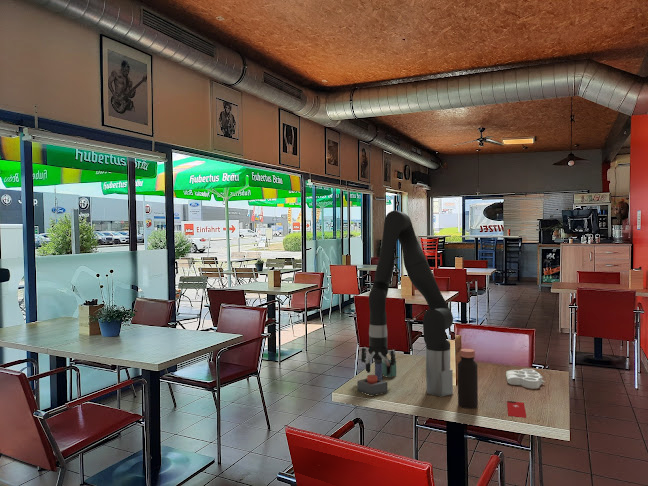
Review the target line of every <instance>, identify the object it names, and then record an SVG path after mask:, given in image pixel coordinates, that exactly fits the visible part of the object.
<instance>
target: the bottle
mask: <svg viewBox="0 0 648 486" xmlns="http://www.w3.org/2000/svg"><path fill="white" fill-rule="evenodd" d="M459 351H460V352H459V353H460V359H461V360H460V361H459V362H457V404H458V406H459V407H461V408H464V409H467V410H469V409H472V410H473V409H476V408H477V407H478V405H479V402H478V400H479V397H478V395H479V392H478V388H479V387H478V386H479V385H478V383H479V382H478V381H479V379H478V363H477V362H476V361H475V360H474V359H475V355H476V354H475V353H476V352H475V349H472V348H461V349H460V350H459Z"/></svg>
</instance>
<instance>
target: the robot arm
mask: <svg viewBox="0 0 648 486" xmlns="http://www.w3.org/2000/svg"><path fill="white" fill-rule="evenodd" d="M382 229H383V231H382V238H381V239H382V241H381V247H380V252H379V256H378V262H377V265H376V269H375V273H374V281H373V283H372V285H371V286H372V287H371V290H370V292H369V294H368V307H369V326H368V327H369V328H368V335H369V336H368V342H369V344H368V346H369V347H366V346H363V347H362V348H361V360H360V361H361V362H362V363H365V371H366V372H367V374H370V373H371V363H370V362H371V361H372V360H373V359H374V360H375V359H379V360H383V361H384V362H385V363H386V364H387V375H389V374H390V373H391V365H394V364H395V363H396V364H397V359H396V350H395V349H388V326H387V323H388V322H387V312H386V306H387V305H386V304H387V303H386V301H387V297H388V292H389V287H390V282H391V280H392V277H393V273H394V269H395V265H396V247H397V242H399V244H400V246H401V250H402V259H403V266H404V268H405V271H406V273H407V276H408V278H409V280H410V282H411V283H412V285H413V286H414V288H415V289H417V291H418V292H419V293H420V294H421V295H422V297H423V298H424V300H425V302H426V304H427V306H428V310H425V312H424V314H423V317H422V330H423V332H422V333H423V341H424V343H425V366H426V367H425V370H426V371H425V372H426V375H425V376H426V377H425V378H426V379H425V382H426V383H425V384H426V389H425V390H426V393H427V394H428V395H432V396H437V397H442V398H443V397H447V396H450V395H453V393H454V391H453V390H454V386H453V383H454V382H453V381H454V380H453V377H454V376H453V374H454V373H453V369H452V368H451V342H450V341H449V340H448V339H447V338H446V336H447V335H446V330H448V329H449V328H450V327H452V326H453V323H454V316H453V313H452V311H451V309H450V307H449V305H448V303H447V301H446V300H445V298H444V296H443V294H442V292H441V291H440V288H439V285H438V283H437V281H436V278H435V277H434V274H433V272H432V269H431V266H430V264H429V261H428V260H427V258H426V255H425V253H424V251H423V249H422V246H421V245H420V243H419V241H418V239H417V236H416V233H415V229H414V227H413V222H412V220H411V218H410V216H409V215H408V214H407V213H406V212H402V211H400V210H391V211H389V212H388V213H387V214H386V216H385V218H384V222H383V228H382ZM367 353H369V354H370V355H369V357H367ZM388 355H389V356H390V358H389V356H388ZM390 360H391V362H390Z"/></svg>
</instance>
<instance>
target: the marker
mask: <svg viewBox="0 0 648 486" xmlns="http://www.w3.org/2000/svg"><path fill="white" fill-rule="evenodd" d="M382 360H383V359H382ZM382 360H379V359H374V375H376V376H377V378H378V379H381V380H383V376H382Z"/></svg>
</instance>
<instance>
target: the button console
mask: <svg viewBox="0 0 648 486" xmlns="http://www.w3.org/2000/svg"><path fill="white" fill-rule="evenodd" d="M388 385H389V384H388V381H385V380H383V379H382V380H381V379H378V378H377V383H374V384H370V383H367V378H364V379H358V380H357V385H356V386H357V387H356V388H357V391H358V392H359V391H361V392H360V393H362V392H363V393H362V394H364V393H366V394H369V395H375V396H377V395H376V394H379V395H382V394H381V393H383V394H386V392H387V393H389V391H388ZM366 394H365V395H366ZM369 395H368V396H369Z"/></svg>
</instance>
